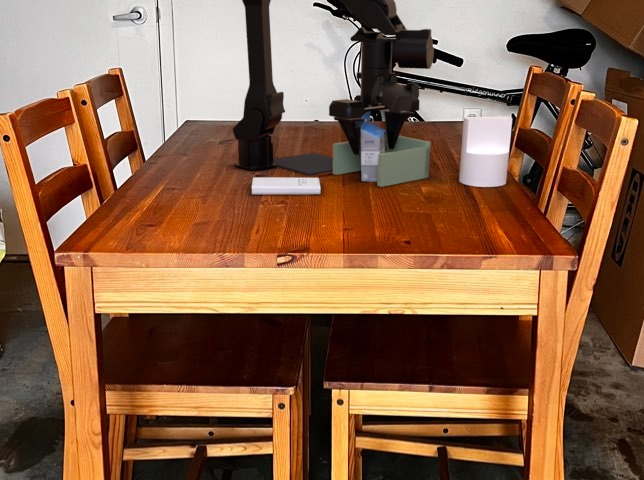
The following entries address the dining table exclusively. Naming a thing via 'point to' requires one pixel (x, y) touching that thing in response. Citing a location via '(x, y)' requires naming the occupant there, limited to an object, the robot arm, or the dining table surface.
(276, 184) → the hard drive
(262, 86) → the robot arm
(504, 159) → the cylinder with rectangular tab
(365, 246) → the dining table surface
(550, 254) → the dining table surface
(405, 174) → the u-shaped bracket
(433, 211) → the dining table surface
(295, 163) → the mat
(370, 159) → the label tape box
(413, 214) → the dining table surface
